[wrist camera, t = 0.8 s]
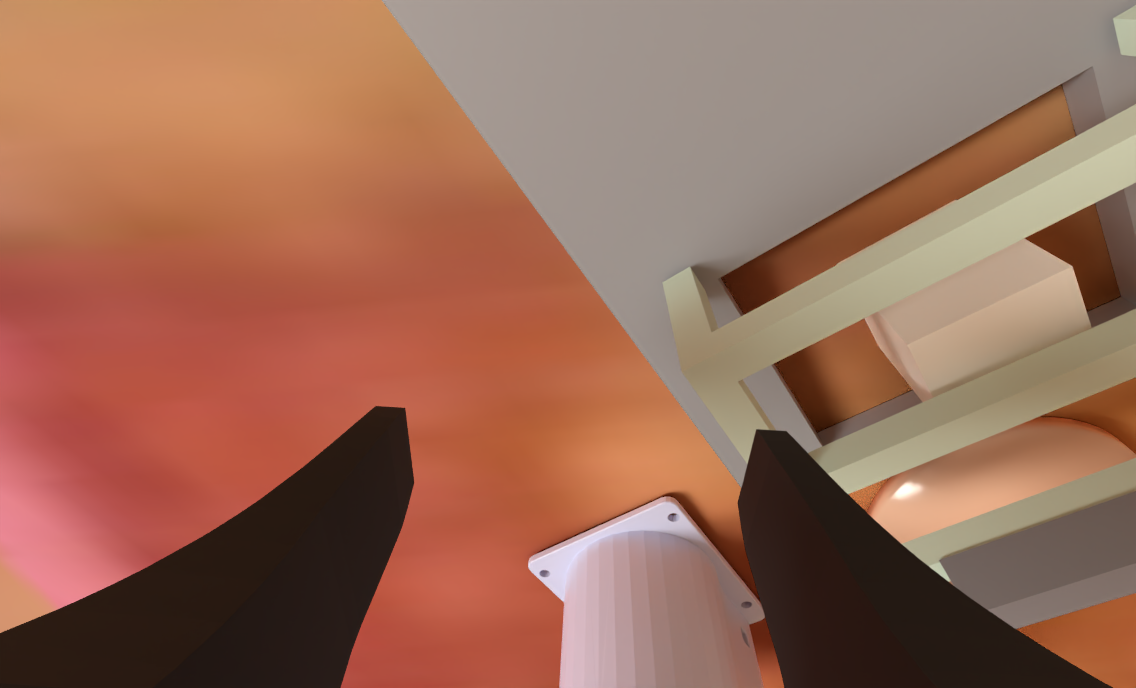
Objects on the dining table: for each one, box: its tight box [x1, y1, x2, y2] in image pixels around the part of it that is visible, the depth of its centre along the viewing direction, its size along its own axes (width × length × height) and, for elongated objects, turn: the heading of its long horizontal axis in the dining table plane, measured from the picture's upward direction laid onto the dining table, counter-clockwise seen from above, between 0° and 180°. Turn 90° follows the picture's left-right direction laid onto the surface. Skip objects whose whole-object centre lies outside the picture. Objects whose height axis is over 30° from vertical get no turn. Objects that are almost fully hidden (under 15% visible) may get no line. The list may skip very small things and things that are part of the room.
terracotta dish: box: [867, 417, 1136, 585], centre depth 26 cm, size 11×11×1 cm
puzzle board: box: [382, 0, 1136, 488], centre depth 18 cm, size 23×18×2 cm
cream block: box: [837, 200, 1092, 402], centre depth 18 cm, size 4×4×6 cm
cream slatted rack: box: [662, 5, 1136, 629], centre depth 16 cm, size 11×14×7 cm
